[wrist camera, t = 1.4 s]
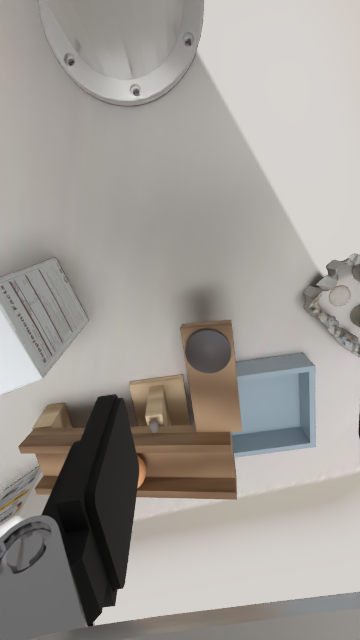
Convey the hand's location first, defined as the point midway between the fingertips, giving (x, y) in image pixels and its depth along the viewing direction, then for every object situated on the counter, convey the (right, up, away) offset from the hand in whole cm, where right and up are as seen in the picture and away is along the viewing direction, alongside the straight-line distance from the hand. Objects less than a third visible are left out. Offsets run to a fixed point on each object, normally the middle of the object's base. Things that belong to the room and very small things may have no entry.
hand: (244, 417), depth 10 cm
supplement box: (-16, +5, +22) cm, 28 cm away
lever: (-7, -6, +19) cm, 21 cm away
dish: (+7, -6, +27) cm, 28 cm away
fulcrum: (-4, -8, +27) cm, 28 cm away
